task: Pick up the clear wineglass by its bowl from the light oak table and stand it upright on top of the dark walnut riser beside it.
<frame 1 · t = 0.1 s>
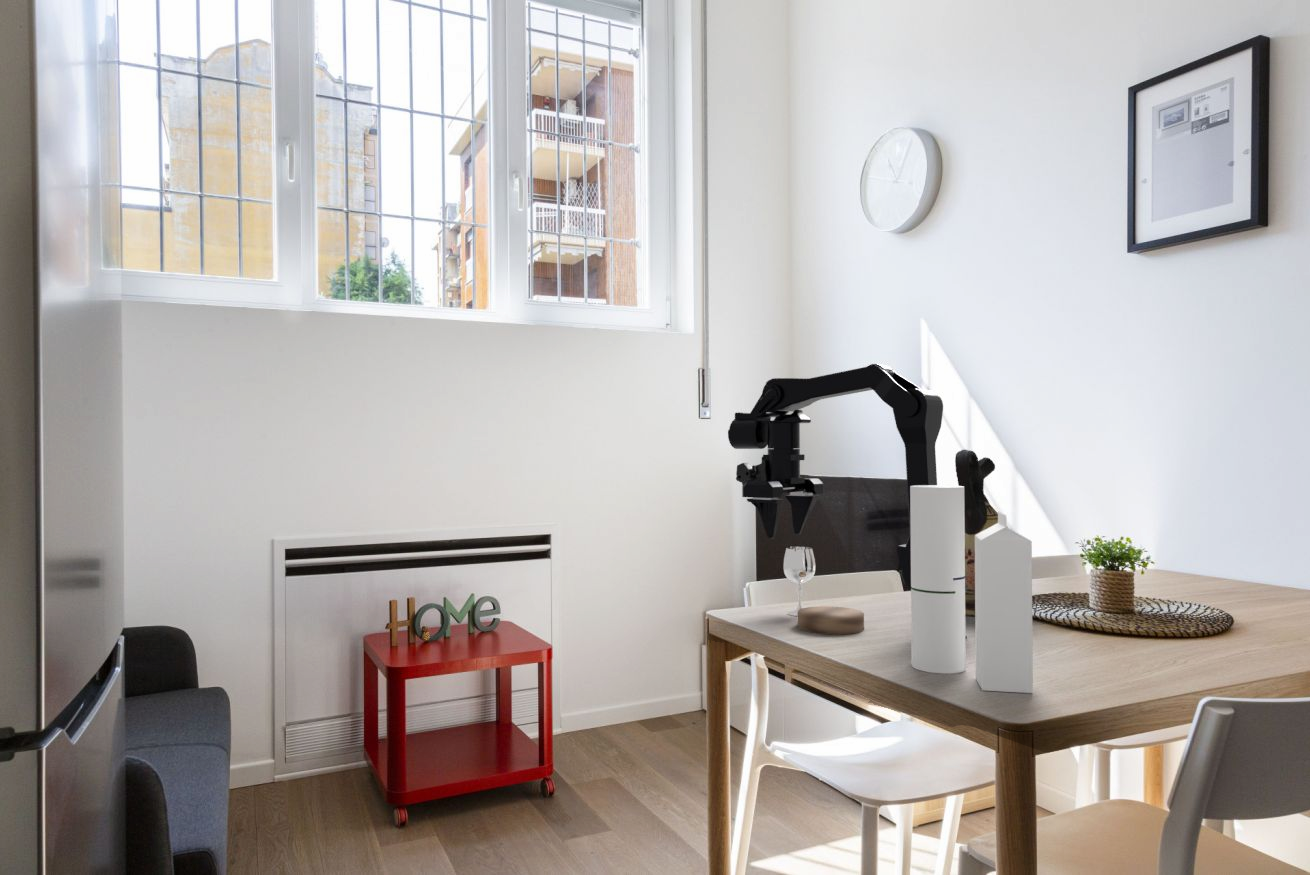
hand: (784, 536, 153), 15 cm above the table, tool pointing down, fingers open, 9 cm apart
walnut riser: (830, 627, 144), on the table
milk: (1003, 687, 109), on the table
cylindrical container: (938, 668, 118), on the table
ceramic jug: (977, 614, 156), on the table
wineglass: (799, 614, 156), on the table
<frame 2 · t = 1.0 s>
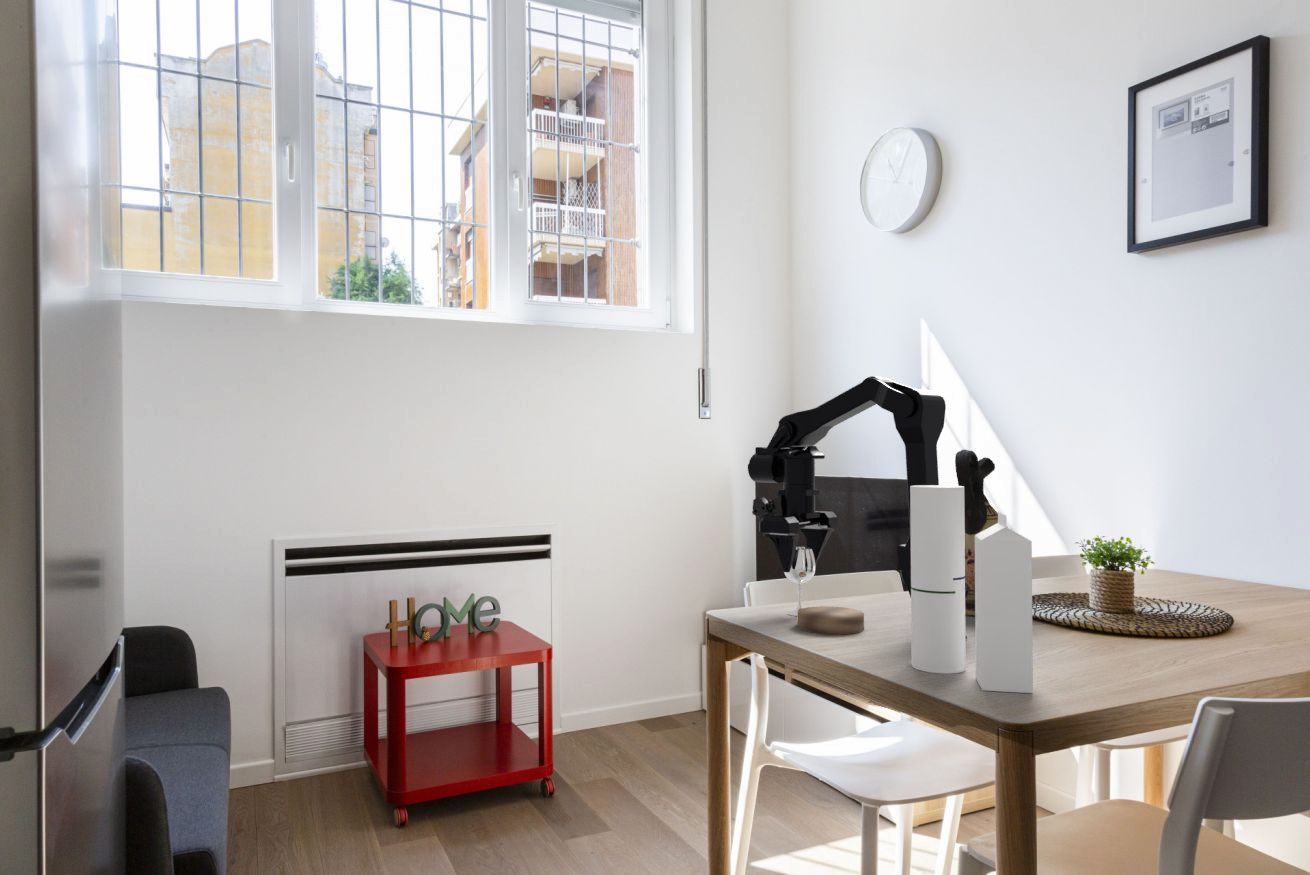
hand: (799, 569, 156), 8 cm above the table, tool pointing down, fingers open, 9 cm apart
nothing on the table moved.
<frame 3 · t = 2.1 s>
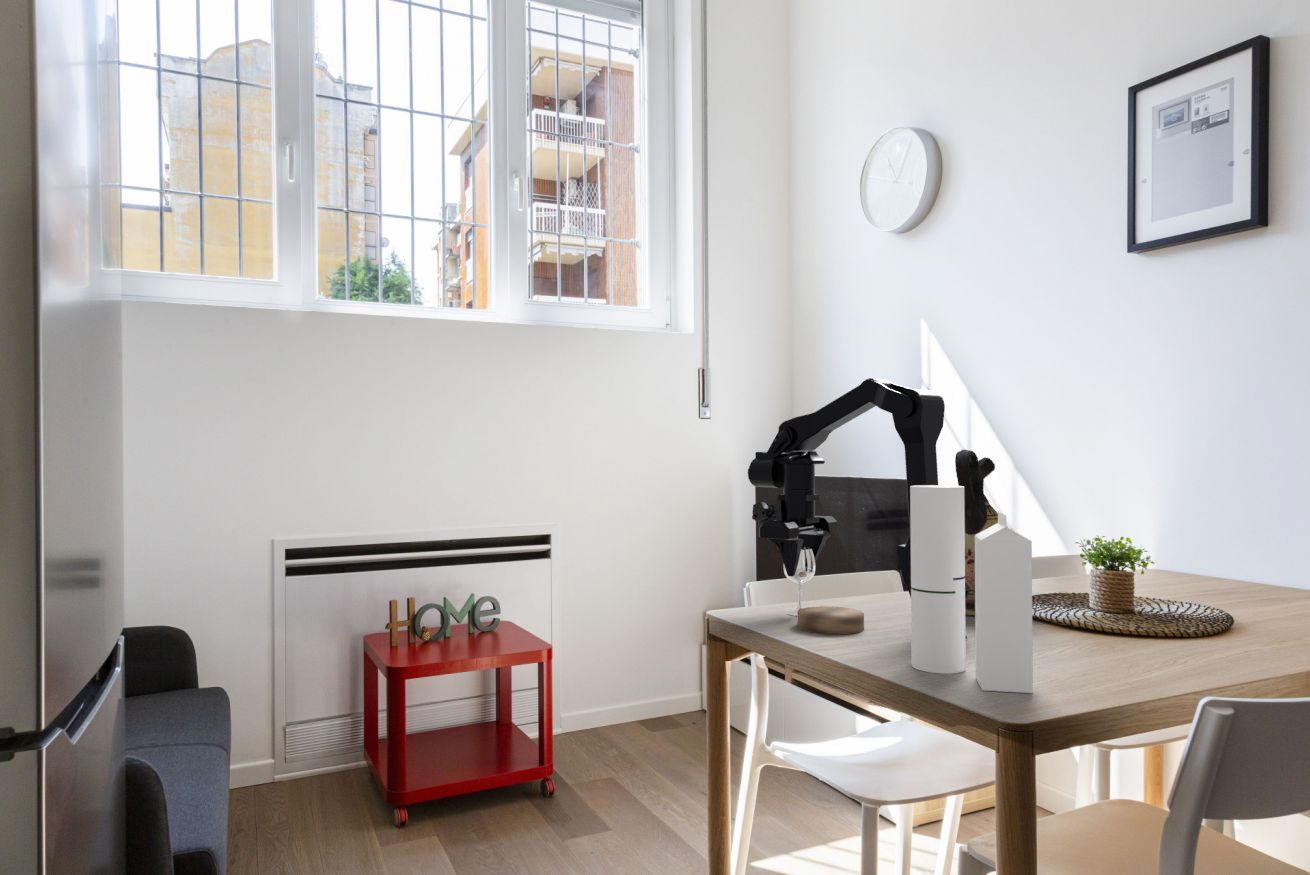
hand: (799, 574, 156), 7 cm above the table, tool pointing down, fingers closed on wineglass, 6 cm apart
wineglass: (799, 614, 156), on the table, touching gripper
everything else where it was.
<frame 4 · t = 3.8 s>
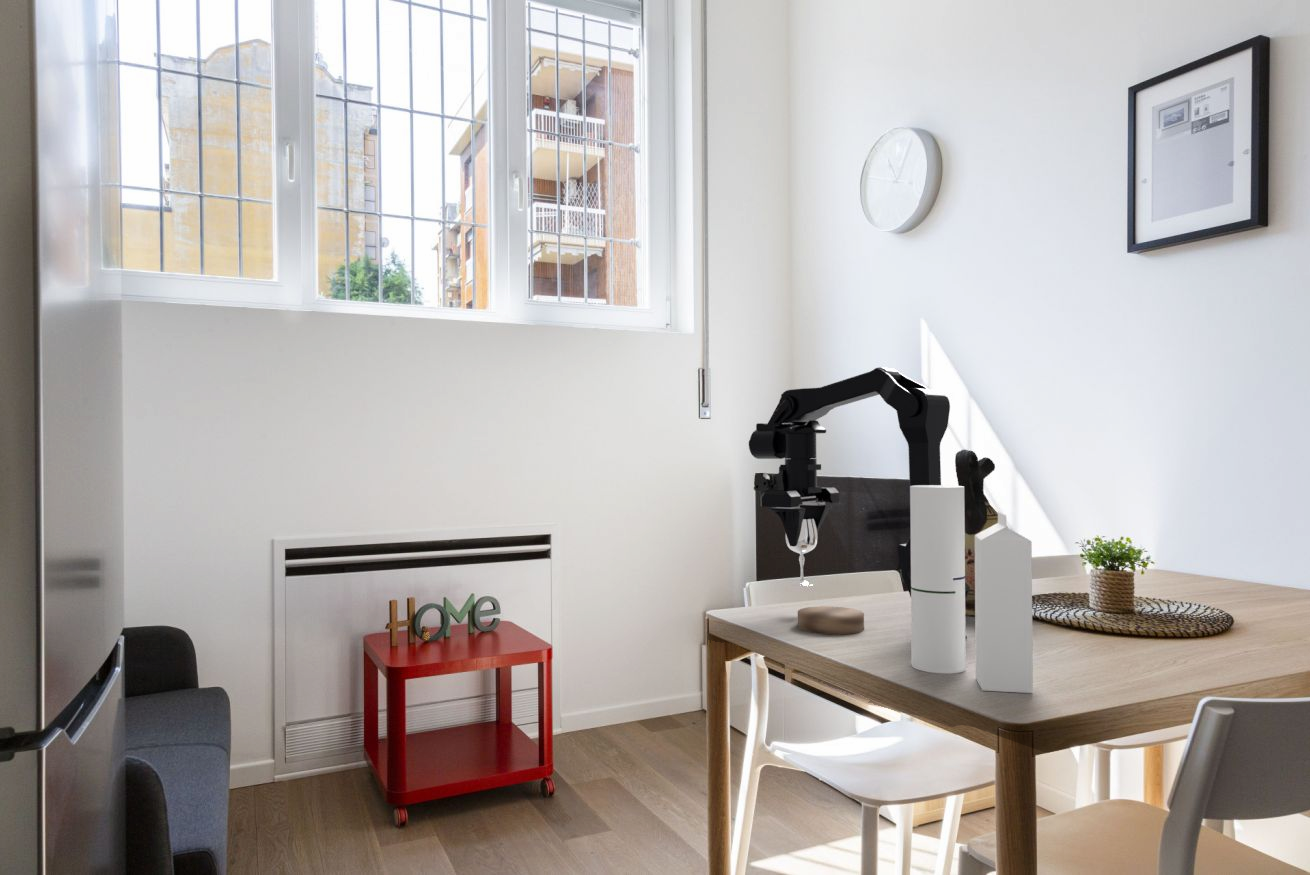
hand: (801, 544, 156), 13 cm above the table, tool pointing down, fingers closed on wineglass, 6 cm apart
wineglass: (802, 585, 155), point 5 cm above the table, touching gripper
everything else where it was.
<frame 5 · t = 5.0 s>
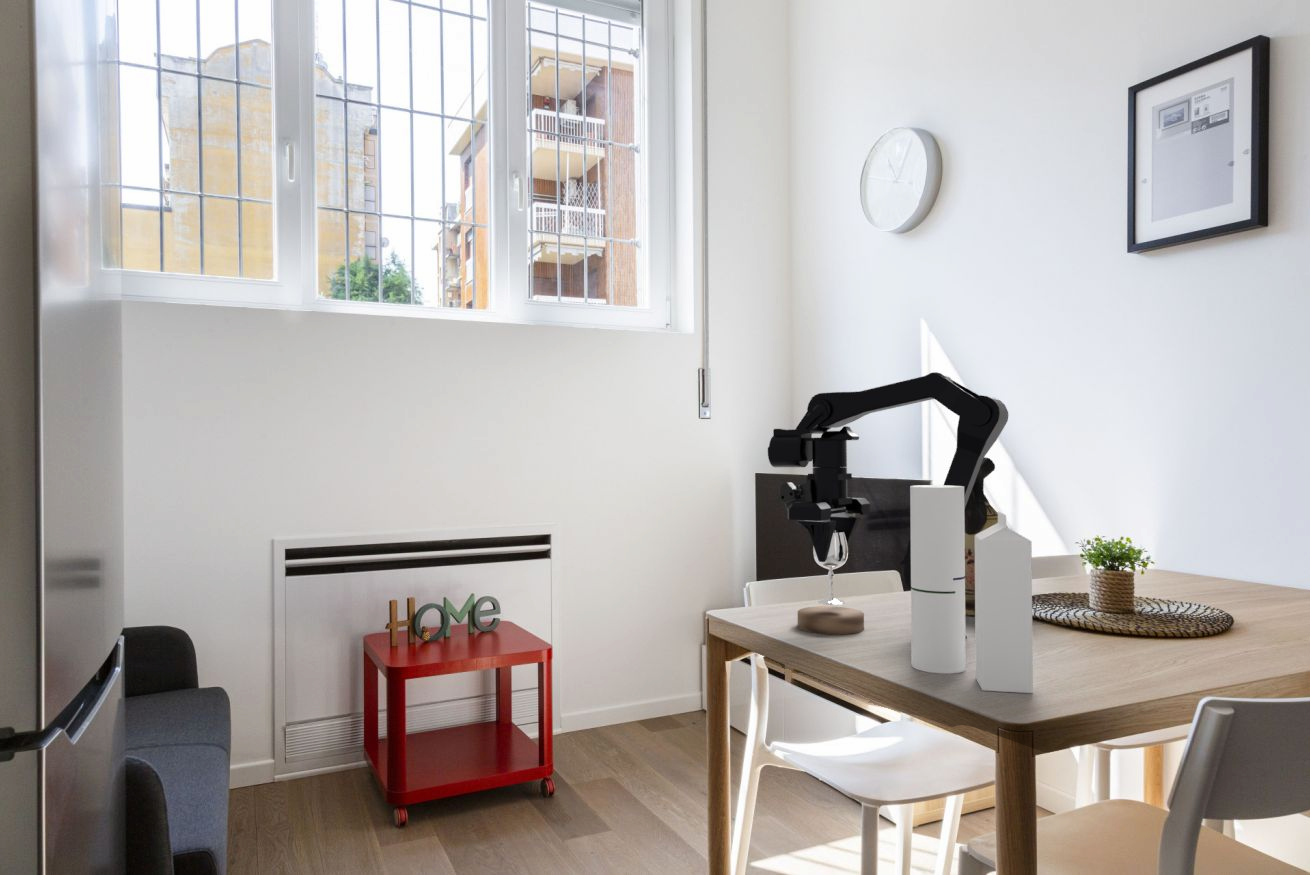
hand: (830, 559, 145), 11 cm above the table, tool pointing down, fingers closed on wineglass, 6 cm apart
wineglass: (831, 603, 144), point 4 cm above the table, touching gripper
everything else where it was.
when the fingers open (11 cm above the table, at t = 5.9 s): wineglass drops 1 cm, resting on walnut riser.
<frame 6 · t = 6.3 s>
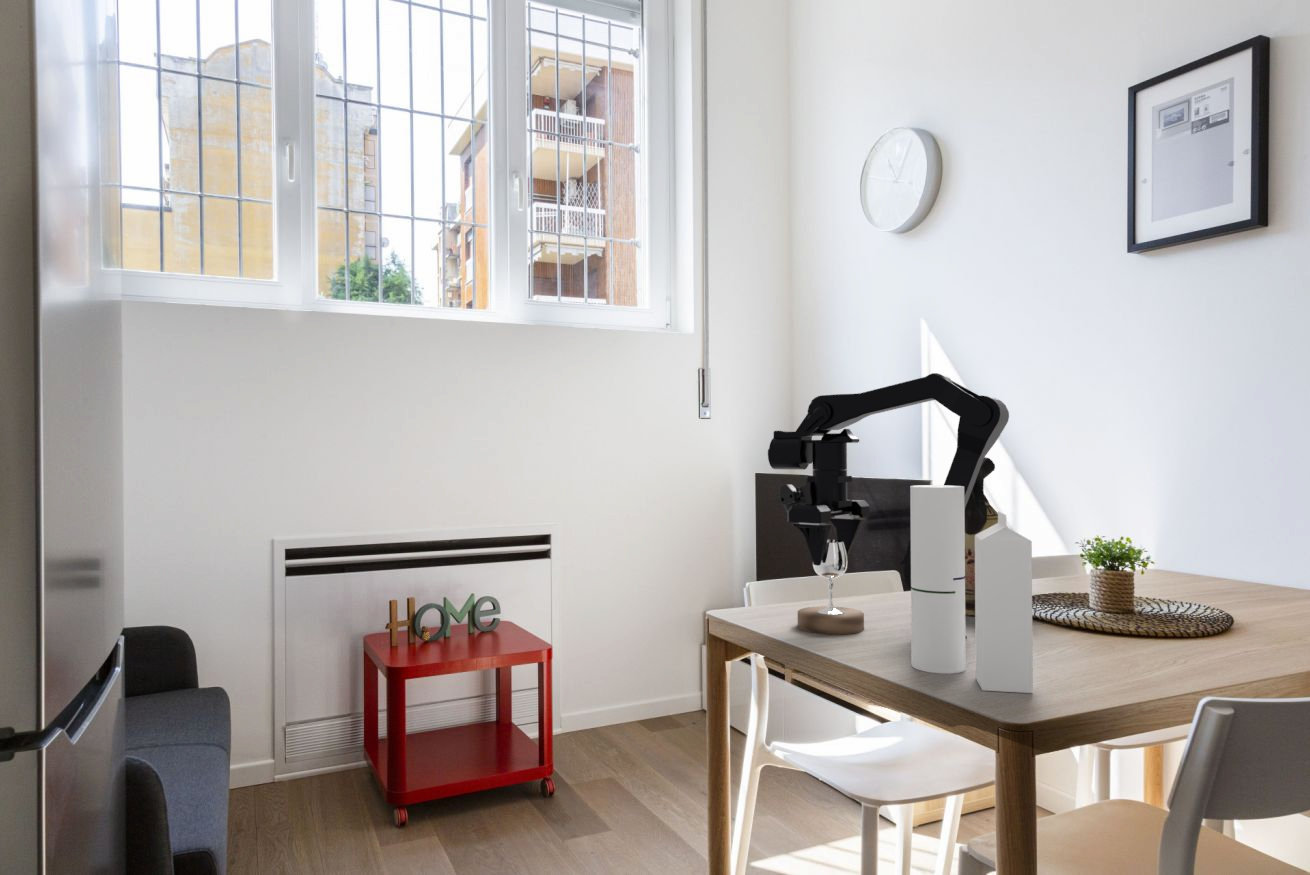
hand: (830, 562, 145), 11 cm above the table, tool pointing down, fingers open, 9 cm apart
wineglass: (831, 613, 144), point 2 cm above the table, touching walnut riser
everything else where it was.
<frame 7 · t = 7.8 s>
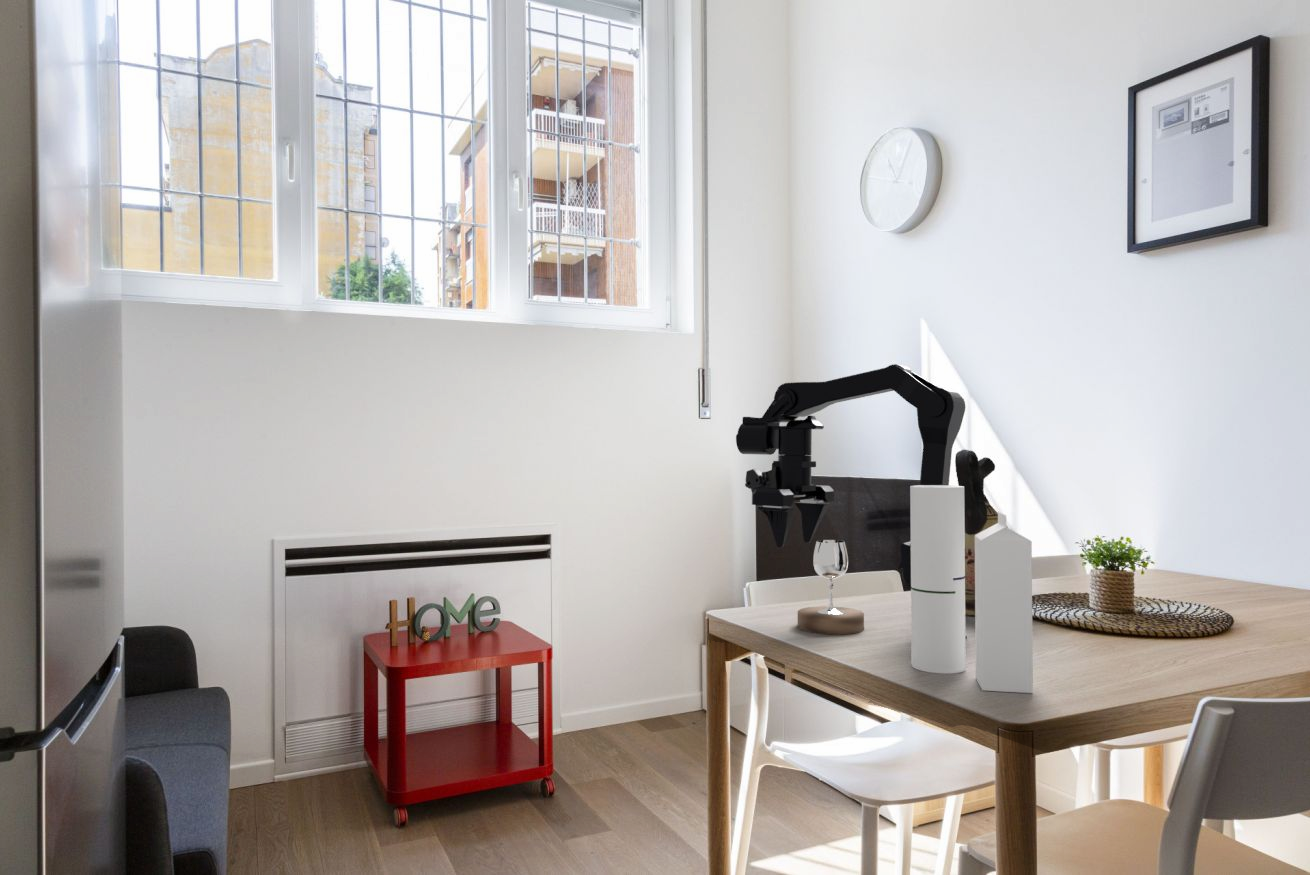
hand: (793, 544, 149), 13 cm above the table, tool pointing down, fingers open, 9 cm apart
nothing on the table moved.
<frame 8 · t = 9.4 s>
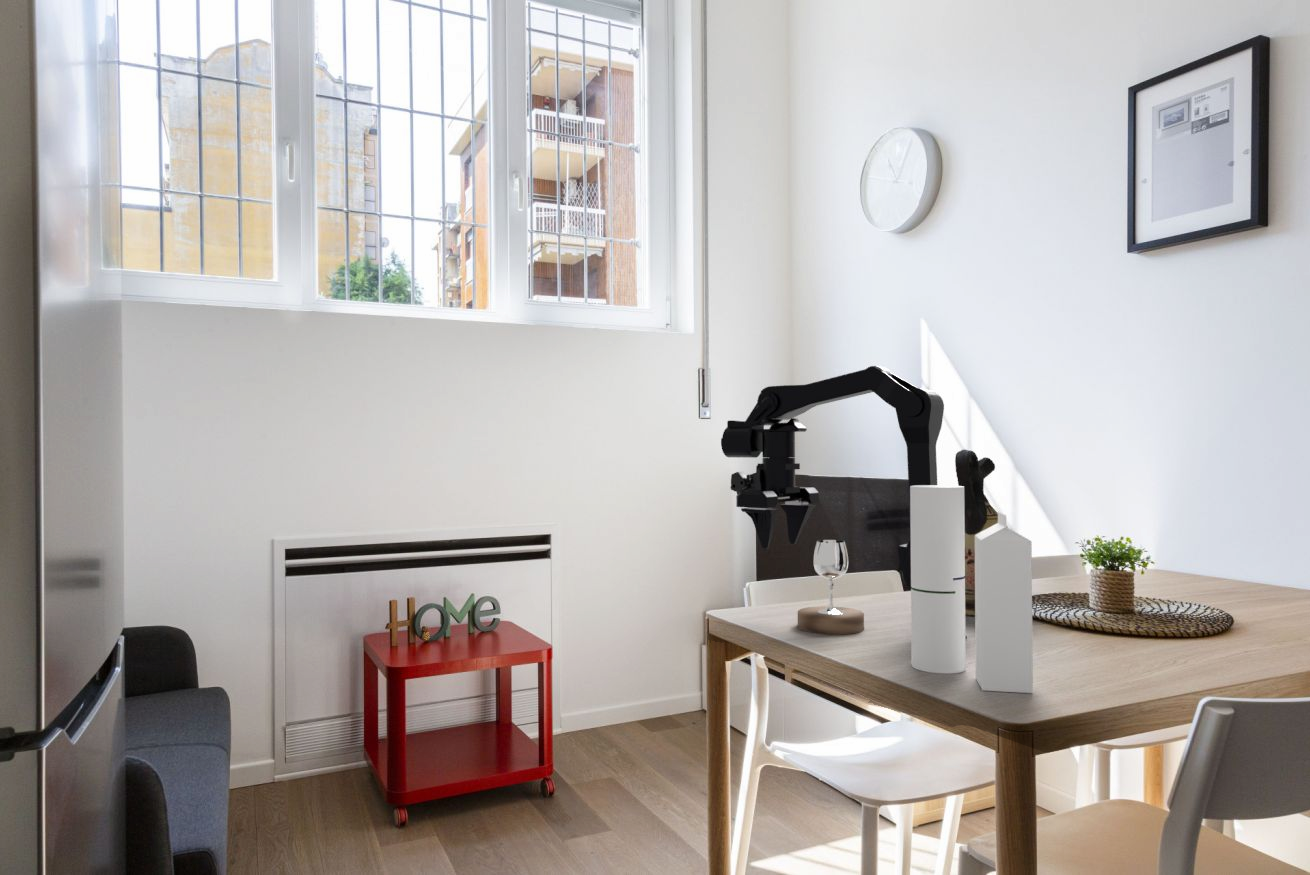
hand: (779, 546, 151), 13 cm above the table, tool pointing down, fingers open, 9 cm apart
nothing on the table moved.
at the end: wineglass 0.1 cm off-centre on the walnut riser, point 2.3 cm above the walnut riser's base; wineglass tilted 0°; the gripper is holding nothing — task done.
